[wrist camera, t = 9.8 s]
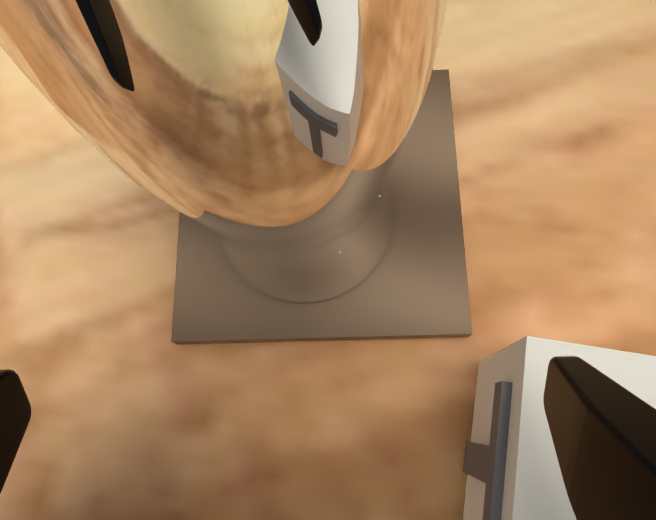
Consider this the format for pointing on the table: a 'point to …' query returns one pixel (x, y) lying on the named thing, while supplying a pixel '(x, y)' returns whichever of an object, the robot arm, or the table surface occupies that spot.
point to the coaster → (377, 288)
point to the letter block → (531, 428)
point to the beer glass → (245, 116)
